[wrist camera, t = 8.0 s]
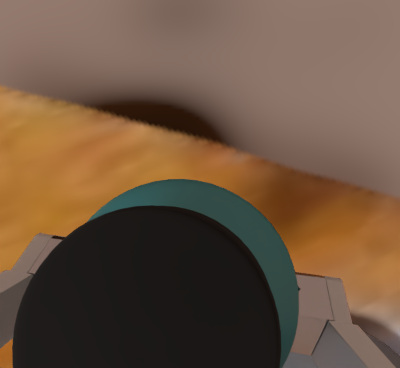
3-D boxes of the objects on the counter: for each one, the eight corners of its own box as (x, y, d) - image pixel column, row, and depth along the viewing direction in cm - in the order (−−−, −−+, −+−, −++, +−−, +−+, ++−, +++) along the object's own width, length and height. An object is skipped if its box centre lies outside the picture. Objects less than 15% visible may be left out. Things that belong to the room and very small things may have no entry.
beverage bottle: (268, 270, 24) (508, 357, 5) (193, 342, 24) (116, 781, 4) (201, 197, 25) (171, 22, 6) (127, 264, 25) (-191, 326, 5)
